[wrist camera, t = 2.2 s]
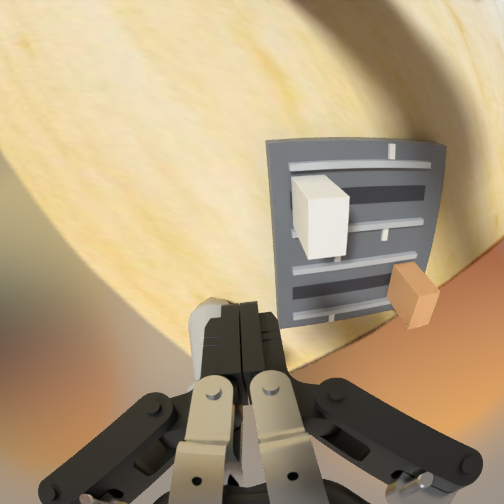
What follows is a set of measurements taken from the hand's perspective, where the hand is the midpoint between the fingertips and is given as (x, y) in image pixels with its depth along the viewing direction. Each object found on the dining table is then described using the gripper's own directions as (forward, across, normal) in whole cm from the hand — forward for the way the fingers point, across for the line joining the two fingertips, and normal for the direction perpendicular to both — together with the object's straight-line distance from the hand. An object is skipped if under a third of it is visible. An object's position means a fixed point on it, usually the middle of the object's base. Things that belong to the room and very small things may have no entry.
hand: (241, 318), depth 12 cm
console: (+15, -12, +5) cm, 20 cm away
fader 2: (+13, -17, +10) cm, 24 cm away
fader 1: (+13, -6, 0) cm, 14 cm away
